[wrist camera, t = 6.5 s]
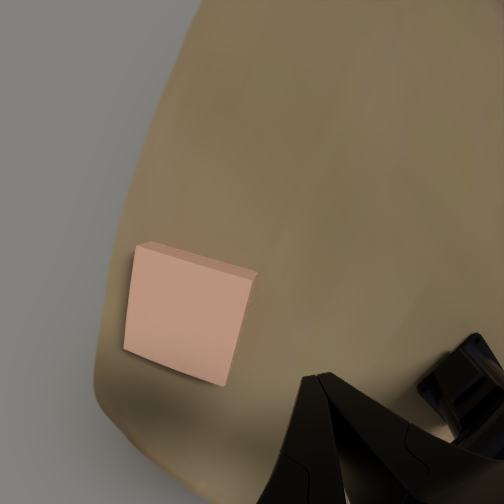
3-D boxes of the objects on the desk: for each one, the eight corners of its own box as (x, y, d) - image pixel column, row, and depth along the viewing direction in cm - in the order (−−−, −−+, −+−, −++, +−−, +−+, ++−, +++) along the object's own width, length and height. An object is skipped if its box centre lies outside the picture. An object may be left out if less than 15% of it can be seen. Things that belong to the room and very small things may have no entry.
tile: (252, 280, 19) (136, 245, 20) (224, 387, 21) (123, 348, 22) (259, 271, 22) (153, 240, 23) (233, 369, 24) (139, 335, 25)
